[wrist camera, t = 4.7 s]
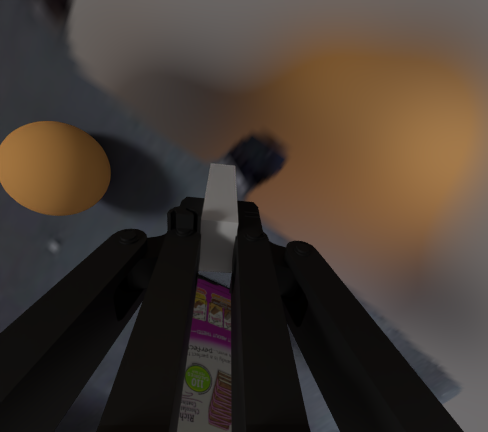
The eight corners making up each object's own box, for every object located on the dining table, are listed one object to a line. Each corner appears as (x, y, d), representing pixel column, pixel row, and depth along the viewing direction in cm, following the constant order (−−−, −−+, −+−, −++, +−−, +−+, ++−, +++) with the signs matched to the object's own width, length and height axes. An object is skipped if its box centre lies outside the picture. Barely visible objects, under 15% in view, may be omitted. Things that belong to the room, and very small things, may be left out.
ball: (126, 194, 20) (95, 237, 15) (48, 187, 19) (-11, 229, 14) (118, 119, 17) (76, 141, 12) (26, 107, 16) (-56, 127, 11)
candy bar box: (149, 295, 25) (54, 589, 11) (173, 262, 23) (94, 568, 9) (243, 331, 29) (259, 586, 15) (271, 305, 27) (319, 570, 13)
